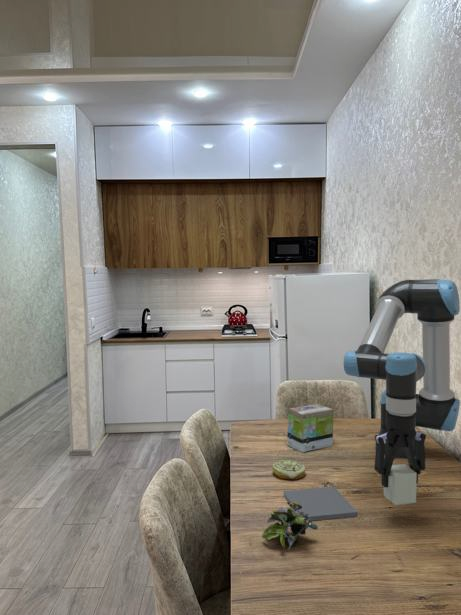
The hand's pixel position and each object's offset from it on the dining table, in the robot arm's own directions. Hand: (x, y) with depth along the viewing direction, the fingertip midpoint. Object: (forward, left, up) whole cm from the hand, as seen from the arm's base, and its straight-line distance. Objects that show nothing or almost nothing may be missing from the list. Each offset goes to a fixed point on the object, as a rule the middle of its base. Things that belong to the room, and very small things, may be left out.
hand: (399, 496), depth 126 cm
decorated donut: (+20, -34, -7) cm, 40 cm away
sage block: (0, 0, 0) cm, 0 cm away
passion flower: (+32, +5, -7) cm, 33 cm away
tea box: (+4, -58, -7) cm, 58 cm away
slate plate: (+18, -12, -6) cm, 23 cm away
